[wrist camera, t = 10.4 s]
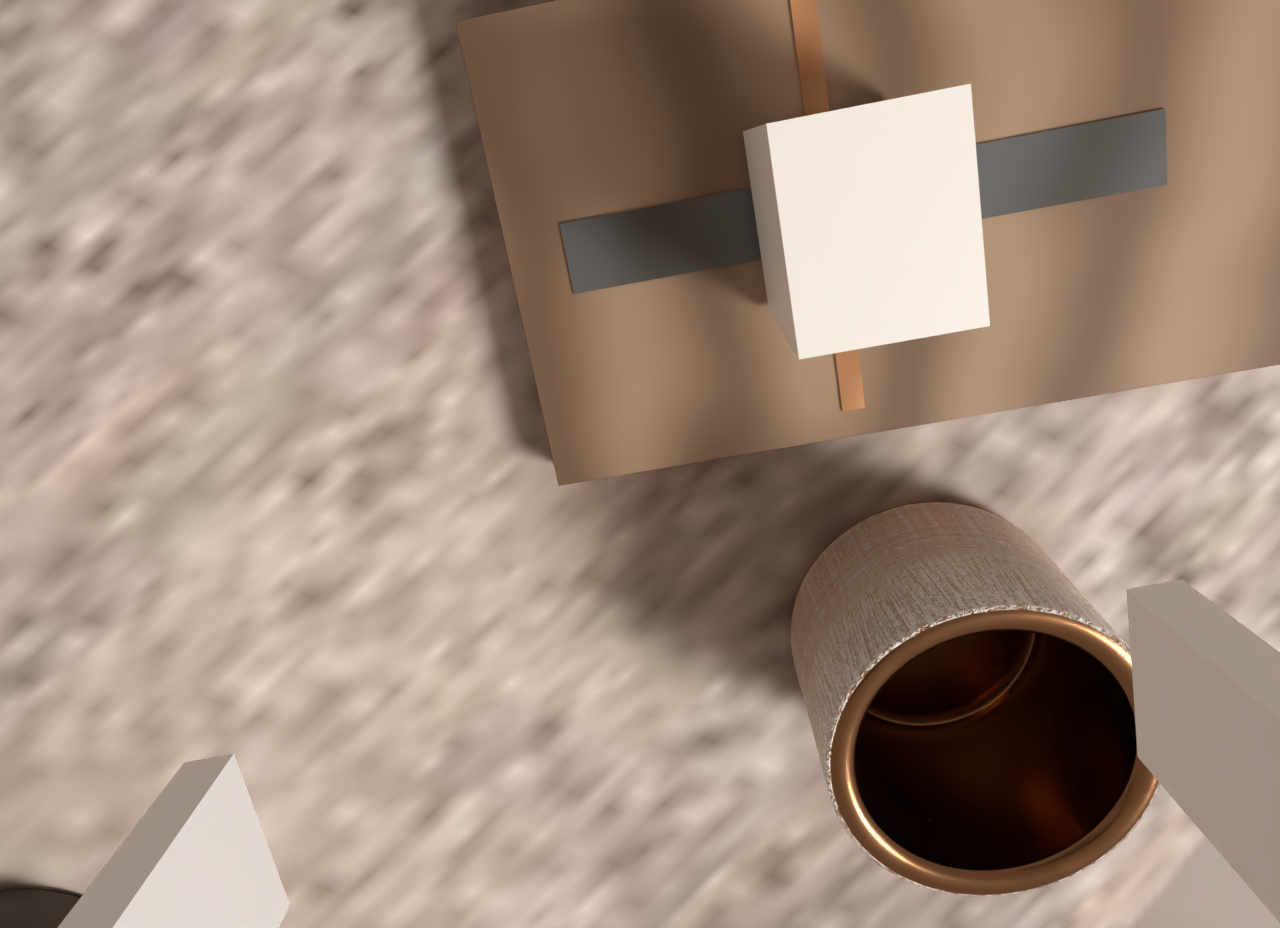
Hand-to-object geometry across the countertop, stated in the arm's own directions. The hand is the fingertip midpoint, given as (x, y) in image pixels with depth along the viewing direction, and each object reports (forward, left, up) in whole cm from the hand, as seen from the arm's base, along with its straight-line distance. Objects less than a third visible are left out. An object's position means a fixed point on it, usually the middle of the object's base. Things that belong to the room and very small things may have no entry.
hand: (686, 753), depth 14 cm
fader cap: (+6, +6, -21) cm, 23 cm away
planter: (+8, -11, -24) cm, 28 cm away
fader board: (+8, +6, -24) cm, 26 cm away
